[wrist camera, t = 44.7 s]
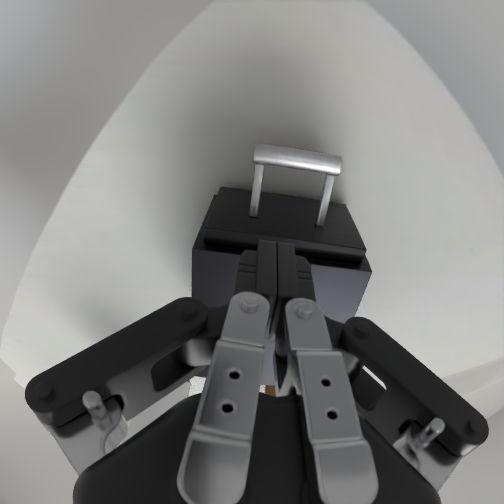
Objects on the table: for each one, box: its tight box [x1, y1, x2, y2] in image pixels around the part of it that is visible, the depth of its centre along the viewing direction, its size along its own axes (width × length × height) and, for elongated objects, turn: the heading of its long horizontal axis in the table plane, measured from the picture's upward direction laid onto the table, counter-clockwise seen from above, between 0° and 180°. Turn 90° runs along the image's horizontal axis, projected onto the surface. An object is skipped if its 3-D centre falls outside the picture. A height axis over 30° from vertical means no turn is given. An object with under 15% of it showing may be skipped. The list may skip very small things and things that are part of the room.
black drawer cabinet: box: [192, 195, 372, 386], centre depth 29 cm, size 15×13×10 cm
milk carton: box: [117, 382, 191, 447], centre depth 39 cm, size 7×7×19 cm
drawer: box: [203, 143, 366, 263], centre depth 27 cm, size 19×11×8 cm, turn 173°
